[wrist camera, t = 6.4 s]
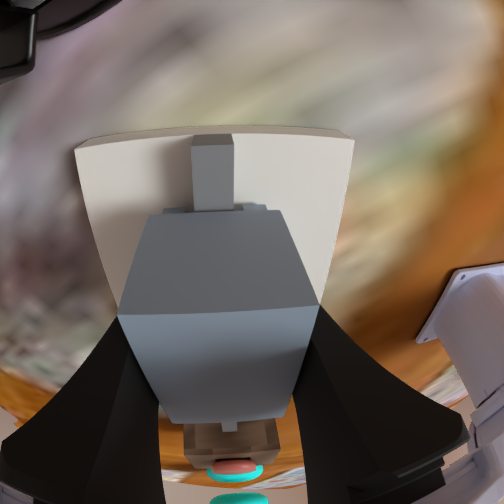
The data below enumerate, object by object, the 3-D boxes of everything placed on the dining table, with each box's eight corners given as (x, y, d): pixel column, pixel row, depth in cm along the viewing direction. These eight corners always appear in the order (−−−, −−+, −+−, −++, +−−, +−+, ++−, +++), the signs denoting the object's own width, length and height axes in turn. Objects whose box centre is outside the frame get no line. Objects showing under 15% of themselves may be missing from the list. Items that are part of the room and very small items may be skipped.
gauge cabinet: (271, 399, 24) (280, 448, 19) (265, 424, 28) (272, 463, 24) (181, 405, 23) (181, 454, 19) (191, 428, 27) (193, 468, 23)
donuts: (281, 506, 33) (241, 511, 36) (273, 459, 41) (236, 469, 44) (237, 510, 28) (198, 512, 32) (230, 455, 36) (194, 465, 40)
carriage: (271, 191, 10) (319, 305, 6) (262, 311, 13) (283, 416, 9) (156, 195, 9) (116, 314, 5) (177, 314, 13) (172, 423, 9)
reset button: (250, 419, 23) (257, 466, 19) (249, 432, 25) (255, 472, 22) (207, 422, 23) (210, 469, 19) (211, 434, 25) (214, 475, 21)
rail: (338, 130, 10) (374, 151, 8) (282, 396, 23) (289, 425, 21) (89, 138, 9) (54, 163, 7) (171, 402, 22) (170, 432, 20)
